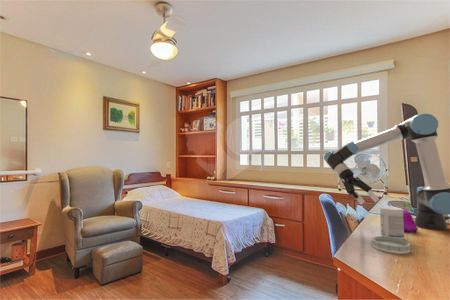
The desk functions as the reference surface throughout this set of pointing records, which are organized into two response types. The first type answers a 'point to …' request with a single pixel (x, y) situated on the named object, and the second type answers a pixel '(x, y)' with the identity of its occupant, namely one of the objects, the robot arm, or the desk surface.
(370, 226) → the desk surface
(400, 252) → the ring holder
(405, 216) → the magenta faceted rounded piece
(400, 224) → the supplement tub
